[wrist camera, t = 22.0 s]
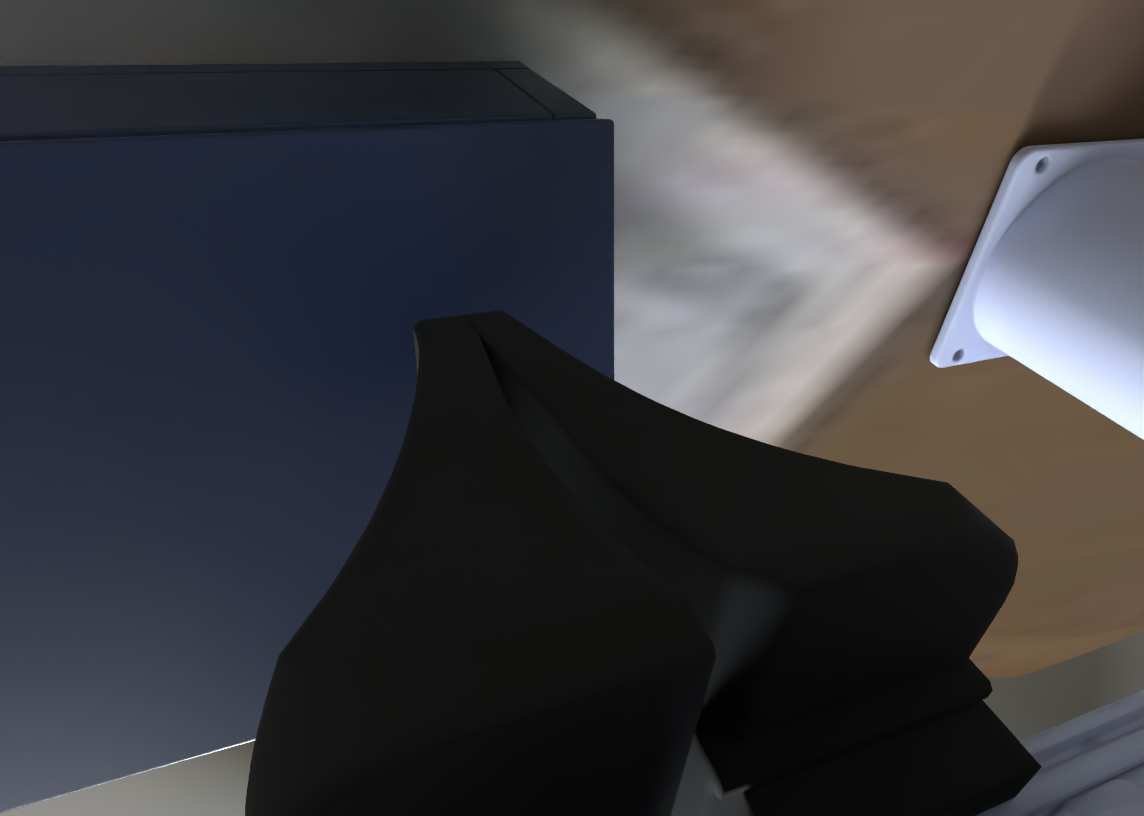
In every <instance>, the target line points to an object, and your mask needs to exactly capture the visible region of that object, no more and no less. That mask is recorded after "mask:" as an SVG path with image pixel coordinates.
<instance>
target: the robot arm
mask: <svg viewBox="0 0 1144 816" xmlns="http://www.w3.org/2000/svg"><path fill="white" fill-rule="evenodd" d="M413 337H414V348H415V358H416V369H417V384H416V392H415V398H414V402H413V406H412V411H411V415H410V419H409V423H408V427H407V431H406V434H405V438H404V441H403V444H402V447H401V450H400V453H399V456H398V459H397V461H396V464H395V466H394V469H393V472H392V474H391V477H390V479H389V481H388V484H387V486H386V488H385V490H384V492H383V494H382V497H381V499H380V501H379V503H378V505H377V508H376V510H375V512H374V514H373V516H372V518H371V519H370V521H369V523H368V525H367V527H366V529H365V531H364V533H363V534H362V536H361V537H360V539H359V541H358V542H357V544H356V546H355V547H354V549H353V551H352V552H351V554H350V556H349V557H348V559H347V560H346V562H345V564H344V565H343V567H342V569H341V570H340V572H339V574H338V575H337V577H336V579H335V580H334V581H333V583H332V584H331V586H330V587H329V589H328V590H327V592H326V593H325V595H324V596H323V597H322V599H321V600H320V601H319V603H318V604H317V605H316V607H315V608H314V609H313V611H312V612H311V613H310V615H309V616H308V617H307V618H306V620H305V621H304V622H303V624H302V625H301V626H300V628H299V629H298V630H297V632H296V633H295V634H294V636H293V637H292V638H291V640H290V641H289V642H288V644H287V645H286V646H285V648H284V649H283V650H282V651H281V653H280V654H279V656H278V660H277V663H276V666H275V669H274V672H273V676H272V679H271V683H270V686H269V689H268V693H267V696H266V700H265V703H264V707H263V711H262V715H261V719H260V723H259V727H258V731H257V735H256V739H255V744H254V749H253V754H252V760H251V765H250V773H249V781H248V788H247V796H246V806H245V816H1144V690H1141V691H1139V692H1136V693H1134V694H1132V695H1129V696H1127V697H1125V698H1122V699H1120V700H1118V701H1115V702H1113V703H1110V704H1108V705H1105V706H1103V707H1101V708H1098V709H1096V710H1093V711H1092V712H1089V713H1086V714H1084V715H1081V716H1079V717H1077V718H1074V719H1072V720H1069V721H1067V722H1065V723H1062V724H1060V725H1057V726H1055V727H1053V728H1050V729H1048V730H1046V731H1044V732H1041V733H1038V734H1036V735H1034V736H1031V737H1029V738H1026V739H1024V740H1022V741H1018V740H1017V738H1016V737H1015V736H1014V735H1013V734H1012V733H1011V732H1010V730H1009V729H1008V728H1007V727H1006V726H1005V725H1004V724H1003V723H1002V721H1001V720H1000V719H999V718H998V717H997V716H996V715H995V714H994V712H993V711H992V710H991V709H990V708H989V707H988V706H987V705H986V704H985V702H984V701H983V700H982V699H985V698H987V697H988V696H989V694H990V693H991V692H992V687H991V683H990V681H989V680H988V679H987V677H986V676H985V675H984V674H983V673H982V672H981V671H980V670H979V669H978V668H977V667H976V666H975V664H974V663H973V662H972V661H971V660H970V659H969V656H970V655H971V653H972V652H973V650H974V649H975V647H976V646H977V644H978V642H979V641H980V639H981V638H982V636H983V635H984V633H985V632H986V630H987V628H988V627H989V625H990V624H991V622H992V621H993V619H994V618H995V616H996V614H997V613H998V611H999V610H1000V608H1001V607H1002V605H1003V604H1004V602H1005V600H1006V598H1007V596H1008V594H1009V592H1010V590H1011V588H1012V586H1013V584H1014V581H1015V576H1016V571H1017V566H1018V554H1017V550H1016V547H1015V543H1014V540H1013V539H1011V538H1010V537H1009V536H1008V535H1007V534H1006V533H1005V532H1003V531H1002V530H1001V529H1000V528H999V527H998V526H997V525H996V524H994V523H993V522H992V521H991V520H990V519H989V518H988V517H986V516H985V515H984V514H983V513H982V512H981V511H980V510H979V509H977V508H976V507H975V506H974V505H973V504H972V503H971V502H969V501H968V500H967V499H966V498H965V497H964V496H963V495H962V494H960V493H959V492H958V491H957V490H956V489H955V488H954V487H952V486H951V485H950V484H948V483H946V482H941V481H935V480H929V479H924V478H918V477H912V476H906V475H901V474H895V473H889V472H884V471H878V470H872V469H866V468H861V467H856V466H851V465H846V464H842V463H838V462H834V461H830V460H826V459H822V458H818V457H813V456H809V455H805V454H801V453H797V452H794V451H790V450H787V449H783V448H780V447H776V446H772V445H769V444H766V443H762V442H759V441H756V440H753V439H750V438H747V437H744V436H741V435H738V434H735V433H732V432H729V431H726V430H723V429H720V428H718V427H715V426H712V425H710V424H707V423H704V422H702V421H699V420H697V419H694V418H692V417H690V416H687V415H685V414H683V413H680V412H678V411H676V410H673V409H671V408H669V407H666V406H664V405H662V404H659V403H657V402H655V401H653V400H651V399H649V398H647V397H645V396H643V395H641V394H639V393H637V392H635V391H633V390H631V389H629V388H627V387H626V386H624V385H622V384H620V383H618V382H616V381H614V380H613V379H611V378H609V377H607V376H605V375H603V374H602V373H600V372H598V371H597V370H595V369H593V368H591V367H590V366H588V365H586V364H585V363H583V362H581V361H580V360H578V359H577V358H575V357H573V356H572V355H570V354H569V353H567V352H565V351H564V350H562V349H561V348H559V347H558V346H556V345H555V344H553V343H552V342H550V341H548V340H547V339H545V338H544V337H542V336H541V335H539V334H538V333H536V332H535V331H533V330H532V329H530V328H529V327H527V326H526V325H524V324H523V323H521V322H520V321H518V320H517V319H515V318H514V317H512V316H510V315H509V314H507V313H505V312H504V311H502V310H498V311H490V312H482V313H474V314H466V315H458V316H450V317H441V318H433V319H425V320H420V321H419V322H418V323H417V324H416V325H415V326H414V327H413ZM1008 355H1009V356H1011V357H1012V358H1014V359H1016V360H1017V361H1019V362H1020V363H1022V364H1024V365H1025V366H1027V367H1028V368H1030V369H1032V370H1033V371H1035V372H1036V373H1038V374H1040V375H1041V376H1043V377H1044V378H1046V379H1048V380H1049V381H1051V382H1052V383H1054V384H1056V385H1057V386H1059V387H1060V388H1062V389H1063V390H1065V391H1067V392H1068V393H1070V394H1071V395H1073V396H1075V397H1076V398H1078V399H1079V400H1081V401H1083V402H1084V403H1086V404H1087V405H1089V406H1091V407H1092V408H1094V409H1095V410H1097V411H1099V412H1100V413H1102V414H1103V415H1105V416H1107V417H1108V418H1110V419H1111V420H1113V421H1115V422H1116V423H1118V424H1119V425H1121V426H1123V427H1124V428H1126V429H1127V430H1129V431H1130V432H1132V433H1134V434H1135V435H1137V436H1138V437H1140V438H1142V439H1143V440H1144V139H1129V140H1113V141H1097V142H1081V143H1066V144H1050V145H1034V146H1026V147H1023V148H1022V149H1021V150H1019V151H1018V152H1017V153H1016V154H1015V155H1014V156H1013V158H1012V159H1011V161H1010V163H1009V166H1008V168H1007V170H1006V173H1005V175H1004V178H1003V180H1002V182H1001V185H1000V187H999V190H998V192H997V195H996V197H995V199H994V202H993V204H992V207H991V209H990V211H989V214H988V216H987V219H986V221H985V224H984V226H983V228H982V231H981V233H980V236H979V238H978V240H977V243H976V245H975V248H974V250H973V253H972V255H971V257H970V260H969V262H968V265H967V267H966V269H965V272H964V274H963V277H962V279H961V282H960V284H959V286H958V289H957V291H956V294H955V296H954V298H953V301H952V303H951V306H950V308H949V311H948V313H947V315H946V318H945V320H944V323H943V325H942V327H941V330H940V332H939V335H938V337H937V340H936V342H935V344H934V347H933V349H932V352H931V355H930V362H932V363H933V364H934V365H936V366H937V367H939V368H943V367H949V366H954V365H959V364H965V363H970V362H975V361H981V360H986V359H992V358H997V357H1002V356H1008Z"/></svg>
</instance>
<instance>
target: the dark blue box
mask: <svg viewBox="0 0 1144 816" xmlns="http://www.w3.org/2000/svg"><path fill="white" fill-rule="evenodd" d="M578 119H596V114H595V113H594V112H593V111H591V110H590V109H588V108H587V107H585V106H584V105H582V104H581V103H580V102H578V101H577V100H575V99H574V98H572V97H571V96H569V95H568V94H566V93H565V92H563V91H562V90H560V89H559V88H557V87H556V86H554V85H553V84H551V83H550V82H549V81H547V80H546V79H544V78H543V77H541V76H540V75H538V74H537V73H535V72H534V71H532V70H531V69H530V68H529V67H527V66H526V65H524V64H523V63H521V62H519V61H494V62H393V63H293V64H192V65H91V66H0V141H21V140H47V139H74V138H100V137H127V136H153V135H180V134H207V133H233V132H260V131H286V130H313V129H339V128H366V127H392V126H419V125H445V124H472V123H499V122H525V121H552V120H578Z"/></svg>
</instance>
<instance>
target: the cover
mask: <svg viewBox="0 0 1144 816" xmlns="http://www.w3.org/2000/svg"><path fill="white" fill-rule="evenodd" d="M498 310H502V311H504V312H505V313H507V314H509V315H510V316H512V317H514V318H515V319H517V320H518V321H520V322H521V323H523V324H524V325H526V326H527V327H529V328H530V329H532V330H533V331H535V332H536V333H538V334H539V335H541V336H542V337H544V338H545V339H547V340H548V341H550V342H552V343H553V344H555V345H556V346H558V347H559V348H561V349H562V350H564V351H565V352H567V353H569V354H570V355H572V356H573V357H575V358H577V359H578V360H580V361H581V362H583V363H585V364H586V365H588V366H590V367H591V368H593V369H595V370H597V371H598V372H600V373H602V374H603V375H605V376H607V377H609V378H611V379H613V380H614V123H613V121H612V120H610V119H578V120H552V121H525V122H499V123H472V124H445V125H419V126H392V127H366V128H339V129H313V130H286V131H260V132H233V133H207V134H180V135H153V136H127V137H100V138H74V139H47V140H21V141H0V813H3V812H6V811H10V810H13V809H17V808H20V807H24V806H27V805H31V804H34V803H37V802H40V801H45V800H48V799H52V798H55V797H58V796H62V795H65V794H69V793H72V792H76V791H79V790H83V789H86V788H90V787H93V786H97V785H100V784H104V783H107V782H111V781H114V780H118V779H121V778H124V777H128V776H132V775H135V774H139V773H142V772H146V771H149V770H153V769H156V768H159V767H163V766H167V765H170V764H173V763H177V762H181V761H184V760H187V759H191V758H194V757H198V756H201V755H205V754H208V753H212V752H216V751H219V750H223V749H226V748H230V747H233V746H236V745H240V744H243V743H247V742H250V741H254V740H255V739H256V735H257V731H258V727H259V723H260V719H261V715H262V711H263V707H264V703H265V700H266V696H267V693H268V689H269V686H270V683H271V679H272V676H273V672H274V669H275V666H276V663H277V660H278V656H279V654H280V653H281V651H282V650H283V649H284V648H285V646H286V645H287V644H288V642H289V641H290V640H291V638H292V637H293V636H294V634H295V633H296V632H297V630H298V629H299V628H300V626H301V625H302V624H303V622H304V621H305V620H306V618H307V617H308V616H309V615H310V613H311V612H312V611H313V609H314V608H315V607H316V605H317V604H318V603H319V601H320V600H321V599H322V597H323V596H324V595H325V593H326V592H327V590H328V589H329V587H330V586H331V584H332V583H333V581H334V580H335V579H336V577H337V575H338V574H339V572H340V570H341V569H342V567H343V565H344V564H345V562H346V560H347V559H348V557H349V556H350V554H351V552H352V551H353V549H354V547H355V546H356V544H357V542H358V541H359V539H360V537H361V536H362V534H363V533H364V531H365V529H366V527H367V525H368V523H369V521H370V519H371V518H372V516H373V514H374V512H375V510H376V508H377V505H378V503H379V501H380V499H381V497H382V494H383V492H384V490H385V488H386V486H387V484H388V481H389V479H390V477H391V474H392V472H393V469H394V466H395V464H396V461H397V459H398V456H399V453H400V450H401V447H402V444H403V441H404V438H405V434H406V431H407V427H408V423H409V419H410V415H411V411H412V406H413V402H414V398H415V392H416V384H417V369H416V358H415V348H414V337H413V327H414V326H415V325H416V324H417V323H418V322H419V321H420V320H425V319H433V318H441V317H450V316H458V315H466V314H474V313H482V312H490V311H498Z"/></svg>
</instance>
